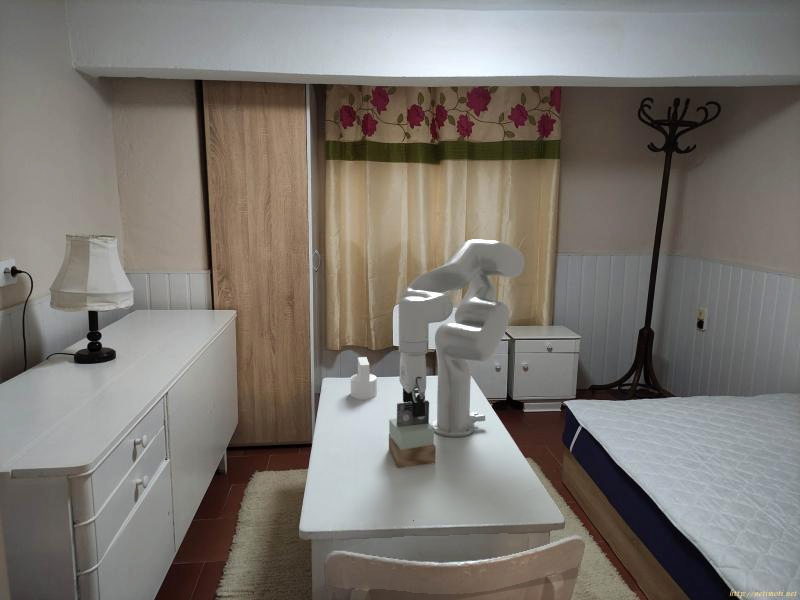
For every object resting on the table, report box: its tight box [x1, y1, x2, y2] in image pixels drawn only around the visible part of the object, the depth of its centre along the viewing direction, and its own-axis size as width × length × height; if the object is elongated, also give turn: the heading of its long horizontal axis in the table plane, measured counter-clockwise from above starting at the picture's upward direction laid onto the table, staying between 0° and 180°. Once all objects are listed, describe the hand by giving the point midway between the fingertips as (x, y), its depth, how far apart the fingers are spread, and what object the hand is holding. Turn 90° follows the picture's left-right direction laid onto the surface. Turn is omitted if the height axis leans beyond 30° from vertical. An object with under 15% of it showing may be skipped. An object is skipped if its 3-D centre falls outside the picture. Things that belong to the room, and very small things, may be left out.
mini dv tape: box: [396, 400, 430, 427], centre depth 140 cm, size 8×2×6 cm, turn 105°
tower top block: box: [388, 417, 435, 450], centre depth 141 cm, size 9×9×4 cm
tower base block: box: [388, 434, 437, 469], centre depth 142 cm, size 10×10×5 cm
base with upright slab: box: [350, 356, 378, 400], centre depth 185 cm, size 9×9×12 cm
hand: (413, 408), depth 140 cm, fingers open, 9 cm apart
